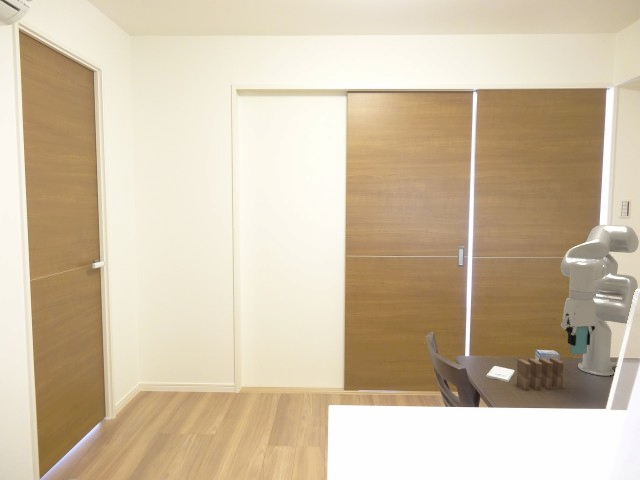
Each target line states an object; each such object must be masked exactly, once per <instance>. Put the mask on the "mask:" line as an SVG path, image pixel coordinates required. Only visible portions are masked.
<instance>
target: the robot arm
mask: <svg viewBox="0 0 640 480" xmlns="http://www.w3.org/2000/svg"><path fill="white" fill-rule="evenodd" d="M639 240H640V239H639V236H638V235H637V233H636V232H635V229H633V228H632V227H630V226H628V225H623V224H621V225H618V224H615V225H614V224H613V225H612V224H601V225H596V226H595V227H593V228H592V229H591V230H590V232H589V234H588V237H587V239H586V241H585V242H583V243H580V244H578V245H575V246H573V247H571V248H570V249H568V250H567V251H566V252H565V255H564V256H563V258H562V260H561V263H560V271H561V274H563V276H564V277H568V278H569V283H568V285H569V286H568V288H569V289H568V297H566V299H565V302H564V307H563V313H562V321H561V322H560V325H559V326H560V327H561V328H563V330H564V331H565V332H566V333H567V344H568V345H570V344H571V345H573V346H575V345H576V335H574V334H575V332H576V328H577V327H588V334H587V354H582V362H578V364H577V368H578V369H579V370H580V371H583V372H585V373H587V374H591V375H594V376H596V375H597V376H602V377H604V376H605V377H610V375H611V376H613V375H614V374H615V370H614V369H613V367H614V368H615V367H617V366H616V364H617V362H618V361H612V360H611V348H612V334H613V333H612V330H611V327H610V326H609V324H608V323H607V322H612V323H620V324H625V325H626V324H627V320H628V316H629V312H630V308H631V304H632V299H633V295H634V292H635V290H636V289H637V288H638V289H639V287H638V286H639V285H638V280H637V278H636V277H635V276H631V275H629V274H628V275H627V274H618V268H619V263H618V261H617V260H616V259H615V257H614V256H612V255H611V254H610V252H611V253H612V252H613V253H625V254H627V253H628V254H632V253H635V252H636V251H637V249H638V248H639V243H640V242H639ZM596 295H597V296H596ZM598 295H601V296H598ZM605 296H606V297H605ZM612 297H613V298H612ZM571 327H572V330H571Z"/></svg>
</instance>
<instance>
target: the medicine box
mask: <svg viewBox="0 0 640 480" xmlns="http://www.w3.org/2000/svg"><path fill="white" fill-rule="evenodd" d="M560 355H561V354H559V353H558V352H557V351H556V350H552V349H550V350H548V349H535V353H534V356H535V357H534V359H535V360H536V361H538V362H539V358H544V359H546V360H548V361H550V358H556V359H558V360H560Z"/></svg>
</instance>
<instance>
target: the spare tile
mask: <svg viewBox="0 0 640 480" xmlns="http://www.w3.org/2000/svg"><path fill="white" fill-rule="evenodd" d="M571 330H572V327H571ZM587 334H588V327H577V328H576V332H575V334H574V335H576V345H575V346H573V345H571V344H569V345H570V346H569V353H571V354H573V355H583V354H587Z"/></svg>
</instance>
